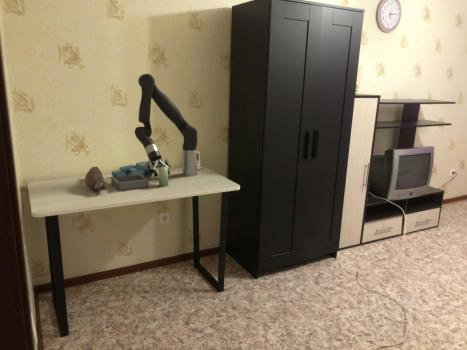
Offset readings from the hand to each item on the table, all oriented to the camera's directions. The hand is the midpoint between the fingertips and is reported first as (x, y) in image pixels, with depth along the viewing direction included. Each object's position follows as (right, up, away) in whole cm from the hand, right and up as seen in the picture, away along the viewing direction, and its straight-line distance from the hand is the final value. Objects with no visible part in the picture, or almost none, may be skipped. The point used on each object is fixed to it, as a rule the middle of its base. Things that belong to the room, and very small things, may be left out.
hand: (163, 175), depth 225 cm
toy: (-21, -1, +21) cm, 30 cm away
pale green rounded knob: (0, -6, +2) cm, 7 cm away
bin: (-19, -7, -2) cm, 21 cm away
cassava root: (-40, -7, -4) cm, 41 cm away
